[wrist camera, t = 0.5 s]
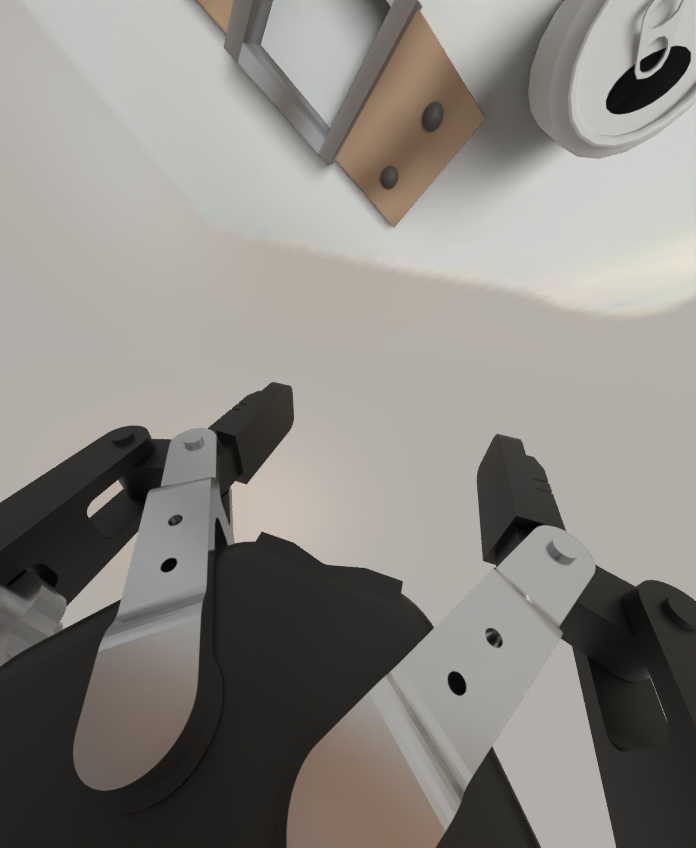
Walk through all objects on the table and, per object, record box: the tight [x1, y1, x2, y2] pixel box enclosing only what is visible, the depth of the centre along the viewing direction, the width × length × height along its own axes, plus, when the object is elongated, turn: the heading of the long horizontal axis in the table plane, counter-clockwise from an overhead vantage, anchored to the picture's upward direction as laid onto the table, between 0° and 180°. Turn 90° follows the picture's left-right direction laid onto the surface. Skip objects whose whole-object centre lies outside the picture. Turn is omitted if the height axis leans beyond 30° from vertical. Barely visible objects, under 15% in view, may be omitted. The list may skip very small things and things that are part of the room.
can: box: [528, 0, 696, 159], centre depth 16 cm, size 8×8×12 cm
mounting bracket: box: [198, 0, 485, 227], centre depth 21 cm, size 26×10×3 cm, turn 52°
